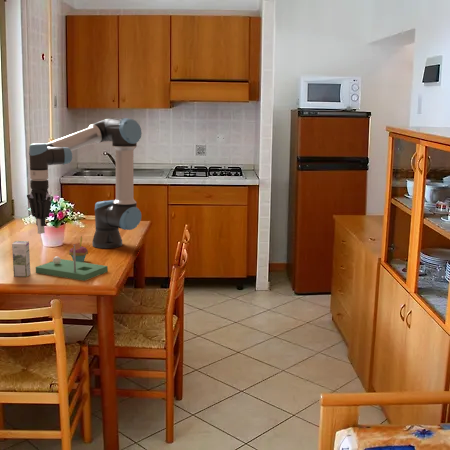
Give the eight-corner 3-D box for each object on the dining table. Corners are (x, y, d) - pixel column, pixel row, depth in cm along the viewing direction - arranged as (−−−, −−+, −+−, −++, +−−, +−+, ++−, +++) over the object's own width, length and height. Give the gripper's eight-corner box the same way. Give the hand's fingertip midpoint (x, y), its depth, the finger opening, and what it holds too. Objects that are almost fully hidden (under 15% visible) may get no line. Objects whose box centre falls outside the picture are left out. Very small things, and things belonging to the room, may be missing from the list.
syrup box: (30, 273, 270) (29, 240, 267) (27, 277, 264) (25, 243, 262) (17, 273, 270) (15, 240, 267) (13, 277, 264) (11, 243, 261)
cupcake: (80, 258, 297) (79, 233, 295) (92, 261, 292) (91, 236, 290) (65, 261, 291) (64, 236, 288) (77, 264, 285) (76, 238, 283)
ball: (56, 262, 278) (56, 255, 278) (62, 263, 277) (62, 256, 276) (51, 264, 275) (51, 256, 275) (57, 265, 274) (57, 257, 273)
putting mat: (60, 264, 286) (59, 232, 283) (107, 271, 275) (106, 239, 272) (35, 272, 272) (34, 239, 269) (84, 280, 261) (83, 246, 258)
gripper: (21, 179, 272) (23, 233, 276) (45, 181, 266) (46, 236, 271) (33, 177, 278) (35, 230, 283) (57, 179, 273) (58, 233, 277)
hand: (41, 233), depth 277 cm, fingers closed
